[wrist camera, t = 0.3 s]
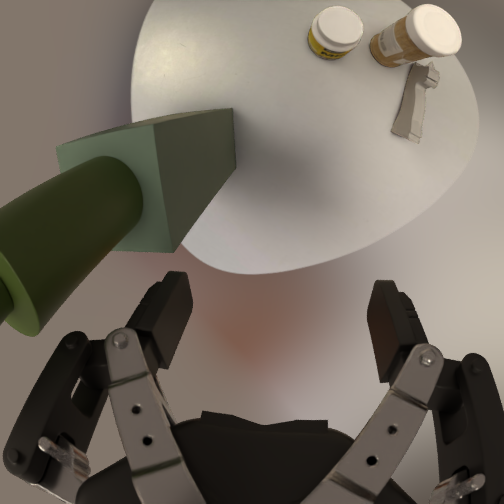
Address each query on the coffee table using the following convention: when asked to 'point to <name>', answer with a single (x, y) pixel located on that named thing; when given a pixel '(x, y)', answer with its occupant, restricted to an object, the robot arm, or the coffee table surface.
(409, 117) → the grey tape dispenser
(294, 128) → the coffee table surface
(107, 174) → the olive bottle
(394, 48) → the sprinkles bottle
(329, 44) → the supplement bottle
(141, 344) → the robot arm
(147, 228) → the pedestal
